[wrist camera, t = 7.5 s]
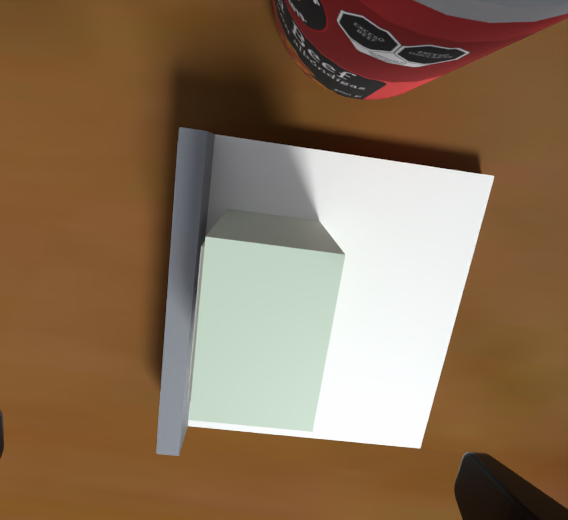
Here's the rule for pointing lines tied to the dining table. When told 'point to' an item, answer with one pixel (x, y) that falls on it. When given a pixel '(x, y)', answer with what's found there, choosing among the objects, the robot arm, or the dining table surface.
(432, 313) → the shelf
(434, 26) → the canned food
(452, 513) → the dining table surface
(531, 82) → the dining table surface
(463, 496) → the robot arm
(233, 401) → the carton
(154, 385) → the dining table surface
